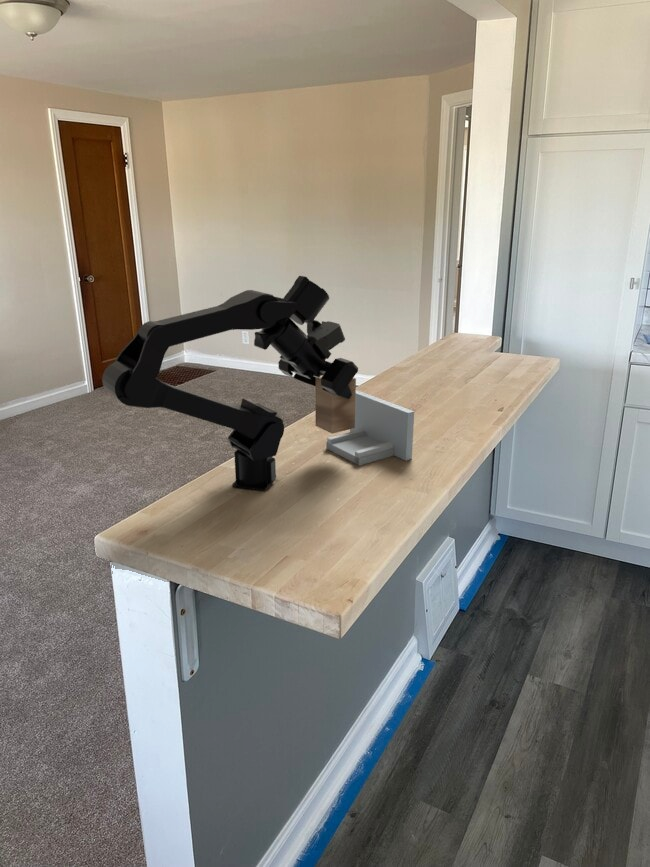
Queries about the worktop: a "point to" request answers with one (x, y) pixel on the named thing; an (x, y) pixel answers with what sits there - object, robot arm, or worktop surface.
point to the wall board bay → (375, 432)
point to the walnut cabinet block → (335, 409)
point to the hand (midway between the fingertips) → (341, 393)
